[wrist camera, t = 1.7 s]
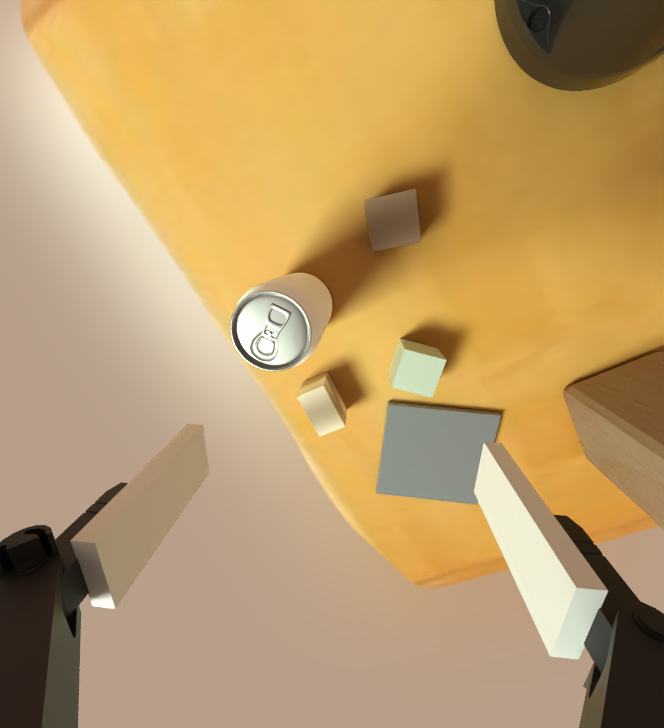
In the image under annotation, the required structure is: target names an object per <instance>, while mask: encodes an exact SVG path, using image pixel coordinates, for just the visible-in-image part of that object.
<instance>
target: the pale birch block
mask: <svg viewBox="0 0 664 728" xmlns="http://www.w3.org/2000/svg"><path fill="white" fill-rule="evenodd" d="M297 398H298V400H299V402H300V403H301V405H302V407H303V409H304V411H305V412H306V414H307V416H308V418H309V419H310V421H311V423H312V425H313V426H314V428H315V430H316V432H317V433H318V435H319V437H320V436H322V435H325V434H328V433H330V432H333V431H335V430H338V429H340V428H343V427H345V424H346V413H347V408H346V406H345V404H344V402H343V401H342V399H341V397H340V395H339V393H338V391H337V389H336V387H335V385H334V383H333V381H332V380H331V378H330V376H329V374H328V372H325V373H323V374H320V375H318V376H316V377H314V378H311V379H309V380H307V381H304V382H303V384H302V386H301V388H300V391H299V393H298V395H297Z"/></svg>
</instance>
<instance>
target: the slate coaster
mask: <svg viewBox="0 0 664 728" xmlns="http://www.w3.org/2000/svg"><path fill="white" fill-rule="evenodd" d="M500 419H501V415H500V414H499V412H491V411H480V410H470V409H459V408H449V407H438V406H428V405H417V404H407V403H396V402H388V403H387V411H386V418H385V426H384V433H383V440H382V448H381V455H380V462H379V470H378V477H377V485H376V493H378V494H387V495H395V496H404V497H413V498H422V499H431V500H440V501H449V502H457V503H466V504H475V505H477V503H478V500H477V497H476V495H475V493H474V488H475V483H476V478H477V473H478V468H479V463H480V458H481V453H482V449H483V444H484V442H491V443H494V441H495V437H496V433H497V430H498V426H499V422H500Z"/></svg>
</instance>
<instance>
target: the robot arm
mask: <svg viewBox="0 0 664 728" xmlns="http://www.w3.org/2000/svg"><path fill="white" fill-rule="evenodd" d="M494 1H495V10H496V17H497V21H498V26H499V29H500V32H501V35H502V38H503V40H504V43H505V45H506V47H507V49H508V51H509V52H510V54H511V56H512V57H513V59H514V60H515V61H516V63H517V64H518V65H519V66H520V67H521V68H522V69H523V70H524V71H525V72H526V73H527V74H528V75H530V76H531V77H532V78H534V79H535V80H537V81H539V82H541V83H543V84H545V85H547V86H550V87H553V88H557V89H562V90H570V91H582V90H590V89H596V88H600V87H604V86H607V85H610V84H612V83H615V82H617V81H619V80H622V79H624V78H626V77H628V76H629V75H631V74H633V73H634V72H636V71H638V70H639V69H641V68H642V67H644V66H645V65H647V64H648V63H650V62H651V61H653V60H654V59H656V58H657V57H659V56H660V55H662V54H663V53H664V0H494ZM208 473H209V467H208V460H207V453H206V445H205V439H204V430H203V425H193V424H187V425H186V426H185V427H184V428H183V429H182V430H181V431H180V432H179V433H178V434H177V435H176V436H175V437H174V438H173V439H172V440H171V441H170V442H169V443H168V444H167V445H166V446H165V447H164V448H163V449H162V450H161V451H160V452H159V453H158V454H157V455H156V456H155V457H154V458H153V459H152V460H151V461H150V462H149V463H148V464H147V465H146V466H145V467H144V468H143V469H142V470H141V471H140V472H139V473H138V474H137V475H136V476H135V477H134V478H133V479H132V480H131V481H130V482H129V483H120V484H118V485H116V486H115V487H113V488H111V489H110V490H108V491H106V493H104V494H103V495H102V496H101V497H100V498H99V499H98V500H97V501H96V502H95V504H93V505H92V506H90V507H89V508H88V509H87V510H86V513H83V514H82V515H81V516H80V517H79V518H78V519H77V520H76V521H75V522H73V523H72V524H71V525H70V526H69V527H68V528H67V529H66V530H65V531H64V532H63V533H62V534H61V535H60V536H59V537H58V538H57V539H56V540H55V538H54V536H53V533H52V530H51V528H50V527H48V526H46V525H36V526H32V527H28V528H25V529H23V530H20V531H18V532H16V533H13V534H12V535H10V536H9V537H7V538H5V539H4V540H2V541H1V542H0V728H78V701H79V666H80V629H81V611H80V608H79V604H80V603H81V602H82V601H83V599H84V598H85V597H86V595H87V594H89V596H90V600H91V602H92V605H93V606H96V607H104V608H114V609H115V608H116V607H117V605H118V604H119V602H120V601H121V600H122V598H123V597H124V595H125V594H126V592H127V591H128V590H129V588H130V586H131V585H132V584H133V582H134V581H135V579H136V578H137V576H138V575H139V574H140V572H141V571H142V569H143V568H144V566H145V565H146V564H147V562H148V560H149V559H150V558H151V556H152V555H153V553H154V552H155V550H156V549H157V547H158V546H159V545H160V543H161V542H162V540H163V539H164V537H165V536H166V534H167V533H168V532H169V530H170V529H171V527H172V526H173V524H174V523H175V521H176V520H177V519H178V517H179V516H180V514H181V513H182V511H183V510H184V508H185V507H186V505H187V504H188V502H189V501H190V500H191V498H192V497H193V495H194V494H195V492H196V491H197V489H198V488H199V487H200V485H201V484H202V482H203V481H204V479H205V478H206V476H207V475H208ZM474 493H475V495H476V497H477V500H478V502H479V504H480V506H481V508H482V510H483V513H484V515H485V517H486V519H487V521H488V523H489V525H490V528H491V530H492V532H493V534H494V536H495V538H496V541H497V543H498V545H499V547H500V549H501V551H502V553H503V556H504V558H505V560H506V562H507V564H508V566H509V569H510V571H511V573H512V575H513V577H514V579H515V581H516V584H517V586H518V588H519V590H520V592H521V594H522V597H523V599H524V601H525V603H526V605H527V607H528V610H529V612H530V614H531V616H532V618H533V620H534V623H535V625H536V627H537V629H538V631H539V633H540V635H541V637H542V640H543V642H544V644H545V646H546V648H547V650H548V653H549V655H550V656H551V657H561V658H570V659H579V657H580V655H581V653H582V650H583V648H584V646H585V647H586V649H587V650H588V652H589V654H590V656H591V657H592V659H593V661H594V664H593V666H592V668H591V670H590V672H589V674H588V677H587V679H586V681H585V683H584V685H583V686H584V687H585V688H586V689H587V691H586V696H585V701H584V706H583V711H582V716H581V721H580V727H579V728H664V614H663V613H661V612H660V611H658V610H657V609H656V608H653V607H651V606H649V605H647V604H645V603H642V602H640V600H639V599H638V598H637V597H636V596H635V594H634V593H633V592H632V590H631V589H630V588H629V587H628V585H627V584H626V583H625V582H624V580H623V579H622V578H621V576H619V574H618V573H617V571H616V570H615V569H614V568H613V567H612V565H611V564H610V563H609V561H608V560H607V559H606V558H605V557H604V556H603V555H602V553H601V551H600V550H599V549H598V548H597V546H596V545H594V544H593V541H592V540H591V539H590V537H589V536H588V535H587V534H586V532H585V531H584V530H583V529H582V528H581V527H580V526H579V525H578V524H576V523H575V522H574V521H573V520H571V519H570V518H569V517H567V516H561V515H553V514H552V512H551V511H550V510H549V508H548V507H547V505H546V504H545V503H544V501H543V500H542V499H541V497H540V496H539V494H538V493H537V492H536V490H535V489H534V487H533V486H532V485H531V483H530V482H529V481H528V479H527V478H526V476H525V475H524V474H523V472H522V471H521V470H520V468H519V467H518V465H517V464H516V463H515V461H514V460H513V458H512V457H511V456H510V454H509V453H508V452H507V450H506V449H505V447H504V446H503V445H502V443H491V442H484V444H483V449H482V453H481V458H480V463H479V468H478V473H477V478H476V483H475V488H474Z"/></svg>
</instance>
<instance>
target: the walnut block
mask: <svg viewBox="0 0 664 728" xmlns="http://www.w3.org/2000/svg"><path fill="white" fill-rule="evenodd" d="M365 212H366V218H367V225H368V231H369V238H370V244H371V251H372V252H375V251H380V250H385V249H389V248H394V247H399V246H404V245H408V244H413V243H418V242H421V234H420V225H419V215H418V206H417V197H416V188H415V189H411V190H407V191H402V192H398V193H394V194H390V195H385V196H381V197H377V198H373V199H368V200H365Z"/></svg>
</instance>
